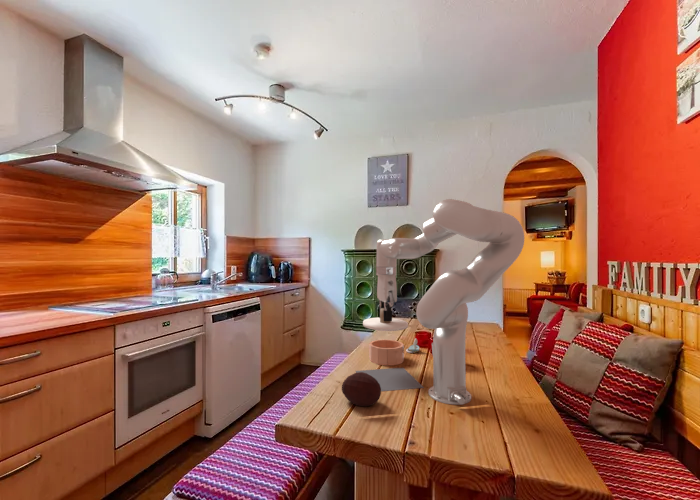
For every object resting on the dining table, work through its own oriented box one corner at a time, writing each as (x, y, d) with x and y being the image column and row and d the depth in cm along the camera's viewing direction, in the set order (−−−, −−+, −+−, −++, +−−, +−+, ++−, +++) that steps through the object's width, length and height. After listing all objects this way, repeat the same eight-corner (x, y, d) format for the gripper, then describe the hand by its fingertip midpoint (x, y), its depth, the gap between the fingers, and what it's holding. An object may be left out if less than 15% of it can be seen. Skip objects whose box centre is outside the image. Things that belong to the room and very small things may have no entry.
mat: (424, 389, 101) (423, 387, 101) (367, 394, 98) (367, 392, 98) (403, 369, 120) (403, 367, 120) (355, 372, 116) (355, 370, 116)
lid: (415, 329, 111) (415, 312, 111) (370, 331, 108) (370, 314, 108) (397, 319, 128) (398, 304, 128) (358, 321, 124) (358, 305, 124)
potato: (377, 415, 84) (376, 381, 85) (336, 408, 89) (336, 375, 89) (384, 401, 93) (384, 370, 93) (347, 395, 97) (347, 365, 97)
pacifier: (405, 353, 140) (419, 354, 139) (405, 339, 140) (418, 340, 139) (406, 349, 147) (419, 349, 146) (406, 336, 147) (418, 336, 146)
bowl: (408, 365, 124) (408, 347, 124) (374, 367, 121) (374, 349, 122) (396, 354, 138) (396, 338, 138) (366, 356, 135) (366, 340, 135)
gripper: (404, 273, 111) (403, 324, 110) (388, 270, 127) (387, 315, 127) (384, 273, 109) (383, 325, 109) (370, 270, 125) (369, 315, 125)
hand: (385, 319), depth 118 cm, fingers closed on lid, 4 cm apart
